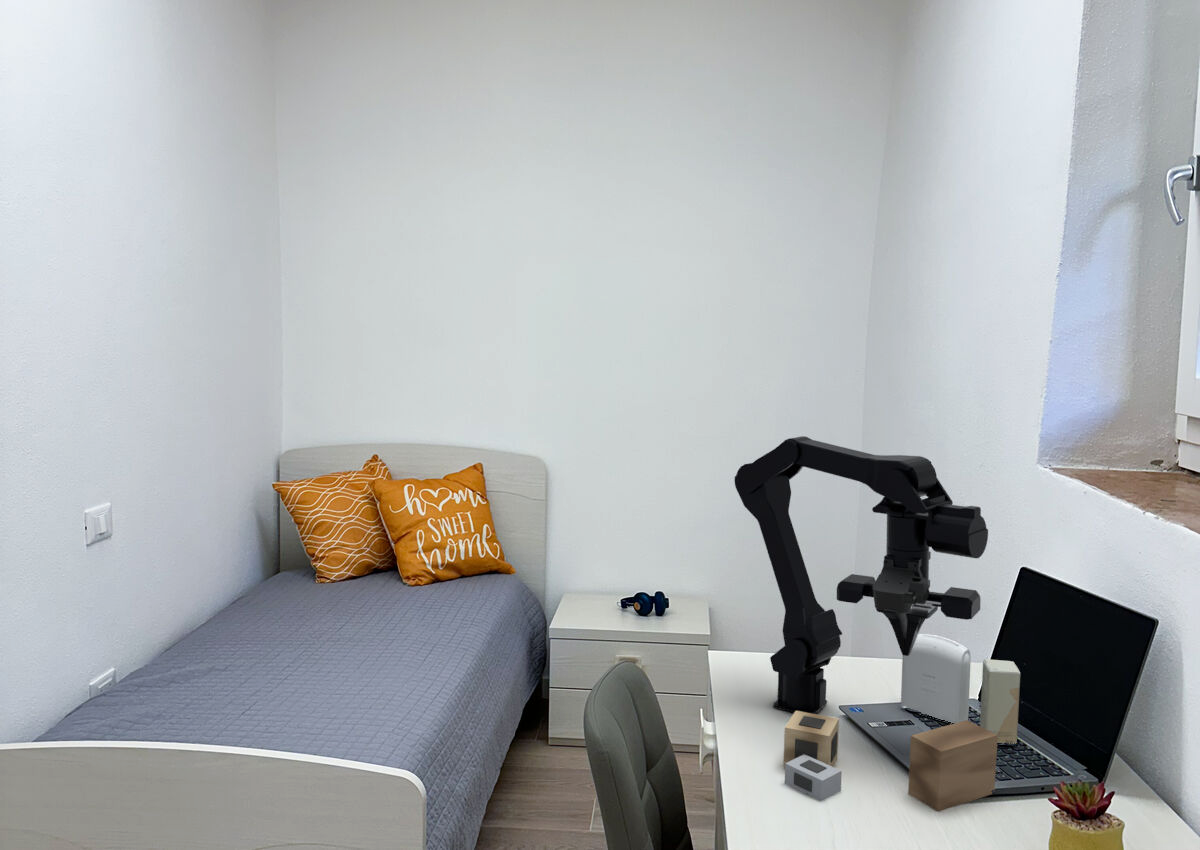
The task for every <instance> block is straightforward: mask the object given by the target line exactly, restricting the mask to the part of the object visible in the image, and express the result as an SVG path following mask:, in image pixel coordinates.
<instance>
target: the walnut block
mask: <svg viewBox="0 0 1200 850" xmlns="http://www.w3.org/2000/svg"><path fill="white" fill-rule="evenodd" d="M997 740H998V735H997V734H995V733H992V732H990V731H988V730H986V729H984V728H982V727H980V725H978V724H976V723H975V722H971V721H969V719H968V720H966V721H962V722H958V723H955V724H952V723H950V724H948V725H944V726H941V727H937V728H934V729H930V730H926V731H922V732H919V733H914V734H911V735H910V751H909V770H908V790H907V791H908V792H907V794H908V796H909V795H910V796H911V797H913V798H914V799H916V800H918V801H919V802H921V803H923V804H924V805H926V806H928V807H929V808H931V809H932V810H934V811H936V812H937V813H939V812H942V811H945V810H948V809H951V808H955V807H957V806H960V805H963V804H966V803H969V802H972V801H975V800H978V799H981V798H984V797H987V796H992V795H993V794H992V792H991V791H992V790H994V791H995V785H996V769H997V755H998V754H997V753H998V745H997Z"/></svg>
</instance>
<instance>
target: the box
mask: <svg viewBox="0 0 1200 850" xmlns="http://www.w3.org/2000/svg"><path fill="white" fill-rule="evenodd" d="M981 674H982V678H981V697H980V722H979V726H980V727H982V728H984V729H986V730H988V731H990V732H992V733H995V734H997V735H998V740H997V743H1009V744H1010V743H1011V744H1014V743H1015V744H1016V743H1017V740H1018V727H1019V726H1018V725H1019V724H1018V723H1019V708H1020V707H1019V706H1020V687H1021V685H1020V684H1021V672H1020V669H1019V668H1018V666H1017V665H1016V664H1015V662H1014V661H1011V660H1002V659H1001V660H999V659H989V658H988V659H987V658H986V659H982V673H981Z"/></svg>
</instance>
